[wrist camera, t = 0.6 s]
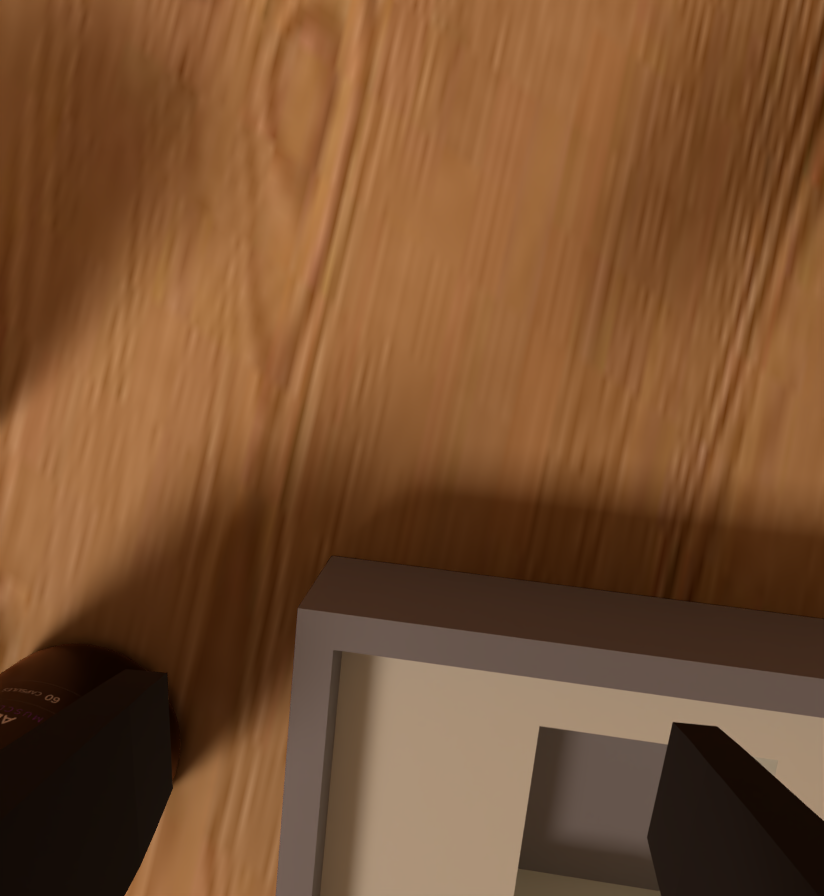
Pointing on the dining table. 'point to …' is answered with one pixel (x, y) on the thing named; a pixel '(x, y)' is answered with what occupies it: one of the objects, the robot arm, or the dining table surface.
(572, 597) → the open box
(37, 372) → the dining table surface
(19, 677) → the supplement bottle
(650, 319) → the dining table surface
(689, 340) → the dining table surface
